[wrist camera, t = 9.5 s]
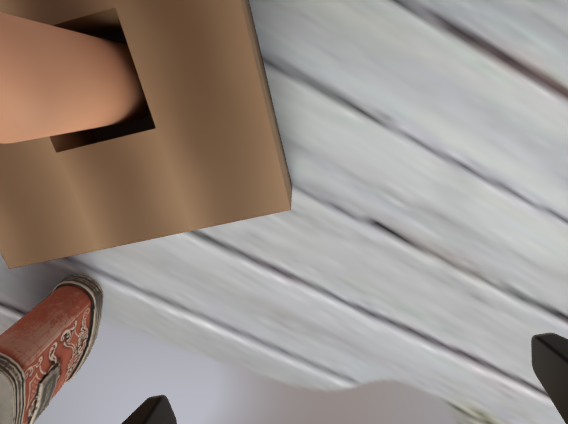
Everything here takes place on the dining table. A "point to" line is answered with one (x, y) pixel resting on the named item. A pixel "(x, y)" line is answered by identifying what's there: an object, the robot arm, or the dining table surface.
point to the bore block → (150, 135)
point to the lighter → (47, 348)
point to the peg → (63, 81)
